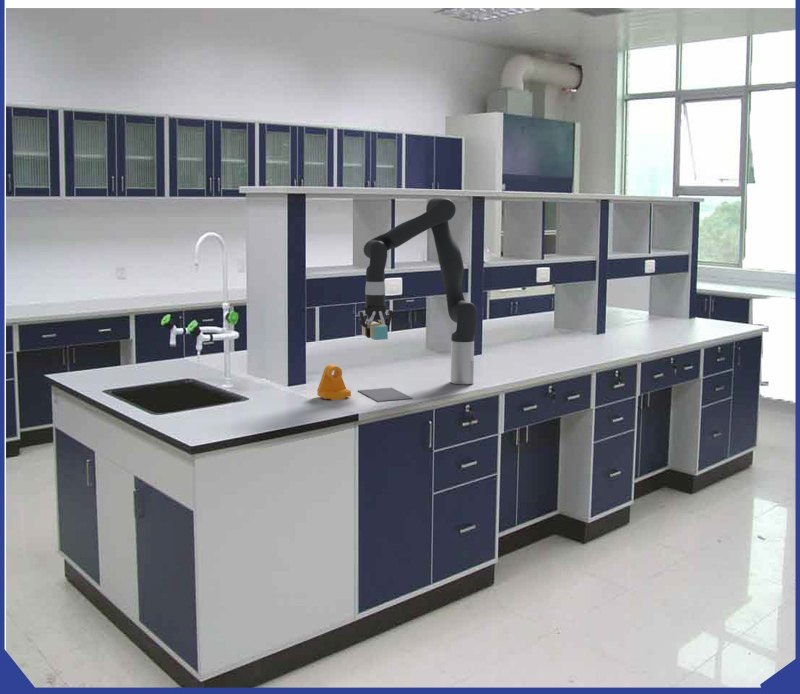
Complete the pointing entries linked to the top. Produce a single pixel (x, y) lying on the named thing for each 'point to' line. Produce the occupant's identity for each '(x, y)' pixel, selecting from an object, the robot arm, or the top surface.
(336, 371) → the bracket
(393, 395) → the rubber mat
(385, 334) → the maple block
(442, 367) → the top surface
